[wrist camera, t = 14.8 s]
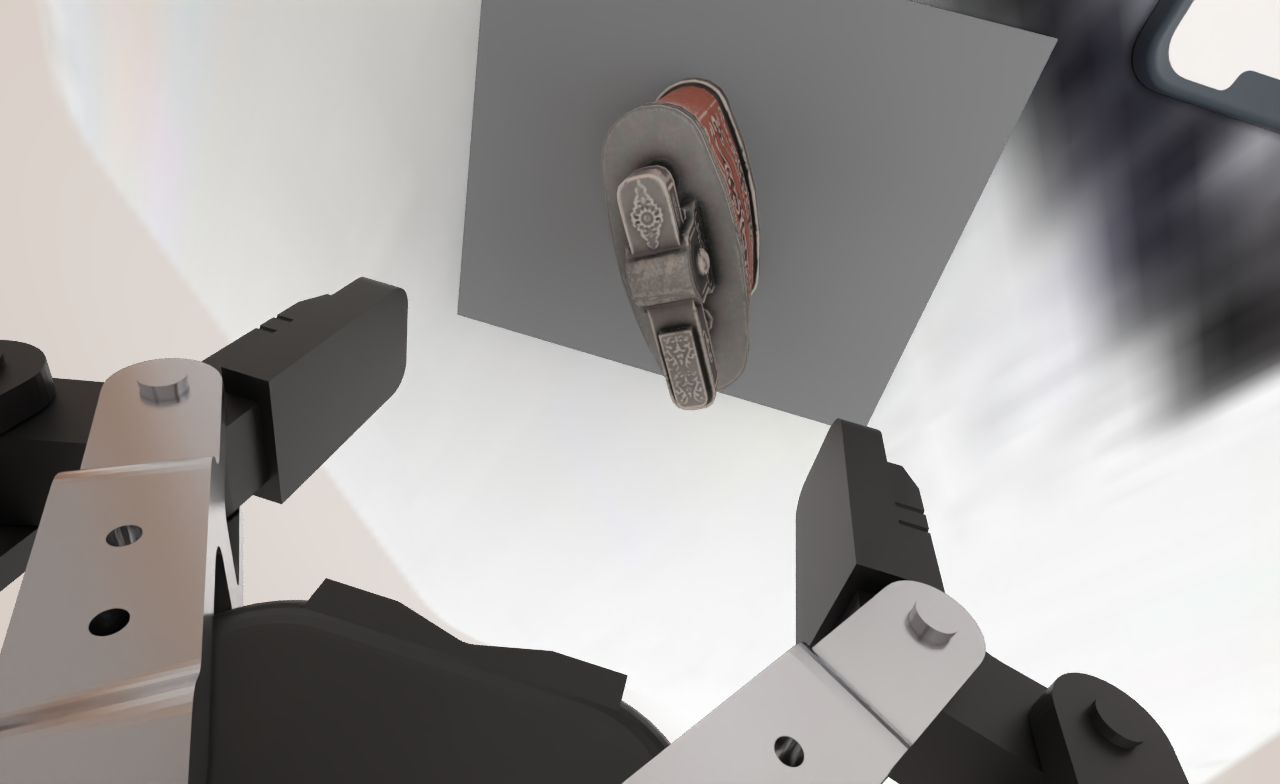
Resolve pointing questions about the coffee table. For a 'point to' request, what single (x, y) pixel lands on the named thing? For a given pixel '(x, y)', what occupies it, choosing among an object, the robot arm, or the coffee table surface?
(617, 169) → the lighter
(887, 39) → the rubber mat
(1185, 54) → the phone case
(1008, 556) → the coffee table surface
